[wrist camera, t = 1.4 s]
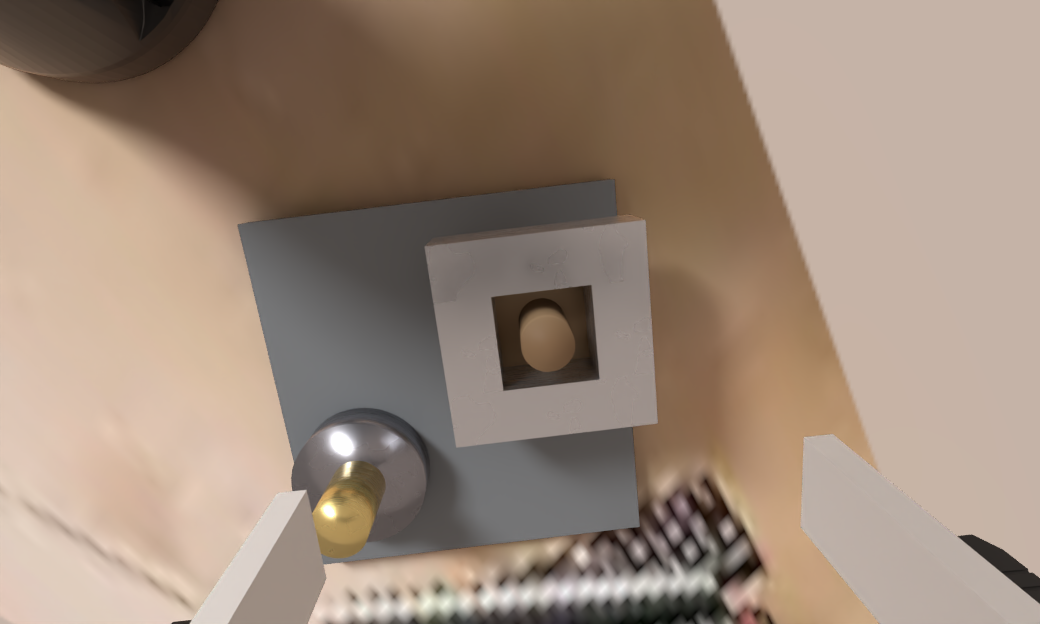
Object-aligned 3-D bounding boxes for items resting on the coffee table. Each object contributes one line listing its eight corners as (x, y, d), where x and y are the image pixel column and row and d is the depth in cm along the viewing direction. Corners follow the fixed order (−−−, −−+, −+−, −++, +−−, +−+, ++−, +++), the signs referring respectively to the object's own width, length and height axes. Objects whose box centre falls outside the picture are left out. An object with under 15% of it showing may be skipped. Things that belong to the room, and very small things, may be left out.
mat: (248, 222, 29) (237, 224, 28) (610, 179, 29) (614, 179, 28) (324, 551, 34) (318, 565, 33) (635, 514, 34) (639, 526, 33)
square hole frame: (433, 237, 26) (424, 246, 23) (629, 214, 26) (645, 219, 23) (461, 418, 28) (456, 447, 25) (641, 397, 28) (657, 423, 25)
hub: (292, 415, 31) (243, 472, 25) (419, 400, 31) (400, 454, 25) (318, 527, 33) (278, 604, 27) (439, 512, 33) (425, 587, 27)
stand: (473, 256, 29) (464, 283, 22) (589, 242, 29) (616, 264, 22) (488, 366, 31) (484, 422, 24) (599, 352, 30) (626, 405, 24)
